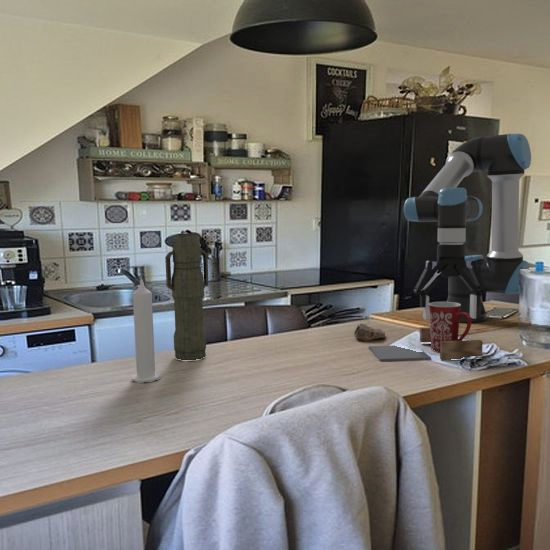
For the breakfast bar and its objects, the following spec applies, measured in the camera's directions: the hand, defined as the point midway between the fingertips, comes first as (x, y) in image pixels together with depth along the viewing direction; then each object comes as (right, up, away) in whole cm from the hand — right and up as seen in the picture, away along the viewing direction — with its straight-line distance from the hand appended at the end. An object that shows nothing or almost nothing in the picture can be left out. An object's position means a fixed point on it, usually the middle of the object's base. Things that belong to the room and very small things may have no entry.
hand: (449, 318), depth 157 cm
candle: (-82, -14, -20) cm, 85 cm away
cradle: (0, -10, +1) cm, 10 cm away
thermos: (-74, -11, 0) cm, 74 cm away
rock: (-20, -8, +19) cm, 28 cm away
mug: (0, -10, +1) cm, 10 cm away
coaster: (-15, -10, 0) cm, 18 cm away
